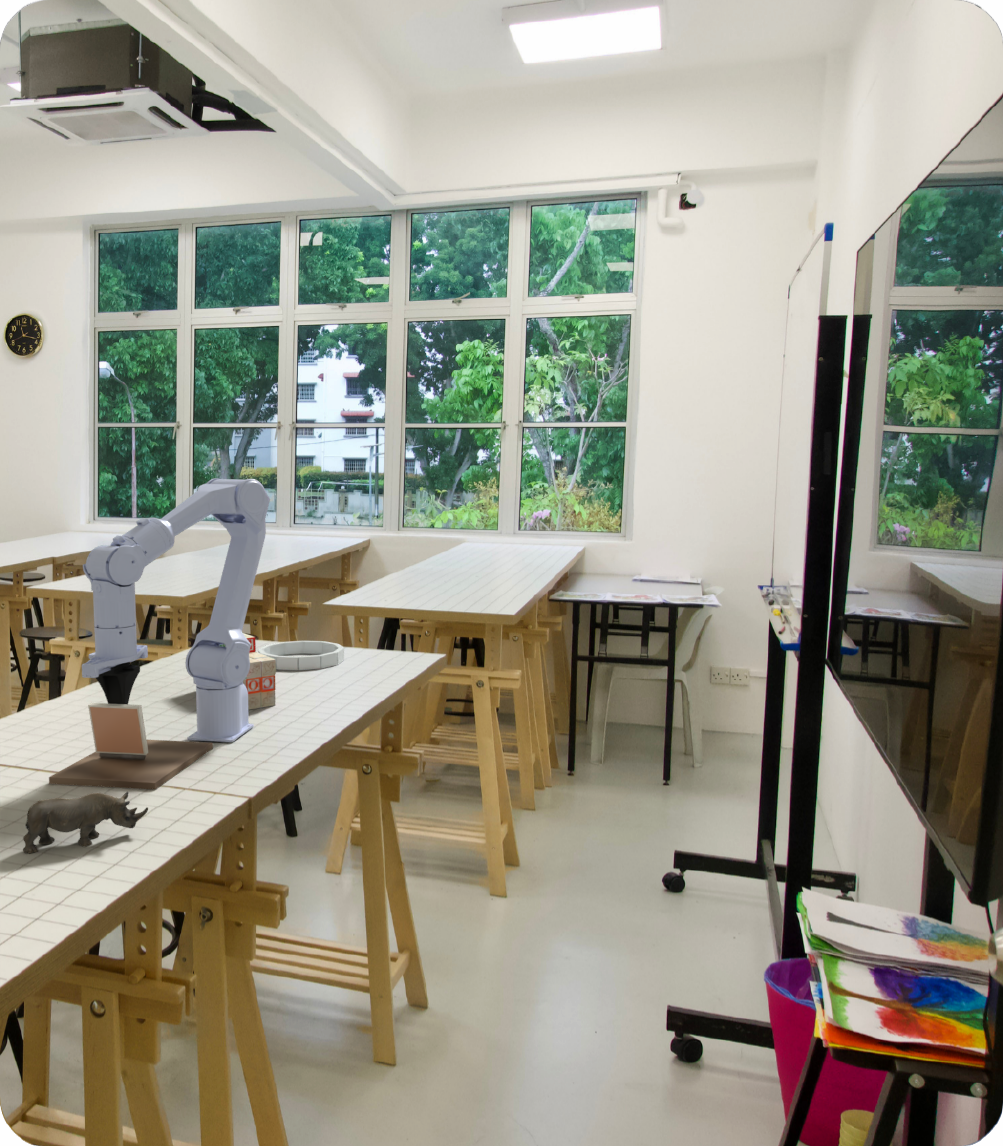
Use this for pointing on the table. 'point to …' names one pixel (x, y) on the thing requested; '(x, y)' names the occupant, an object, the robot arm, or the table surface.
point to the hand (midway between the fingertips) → (118, 714)
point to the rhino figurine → (77, 817)
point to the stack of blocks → (259, 678)
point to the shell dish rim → (329, 656)
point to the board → (133, 766)
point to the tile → (118, 728)
